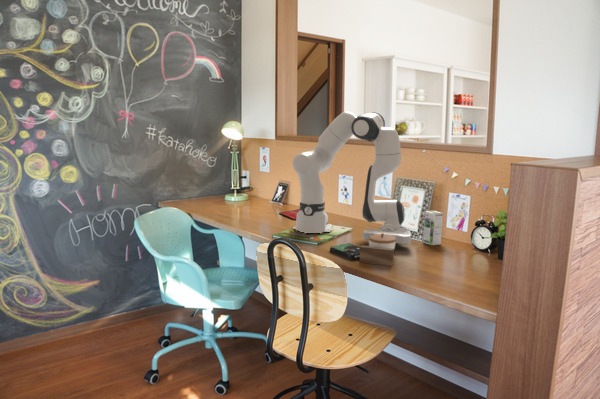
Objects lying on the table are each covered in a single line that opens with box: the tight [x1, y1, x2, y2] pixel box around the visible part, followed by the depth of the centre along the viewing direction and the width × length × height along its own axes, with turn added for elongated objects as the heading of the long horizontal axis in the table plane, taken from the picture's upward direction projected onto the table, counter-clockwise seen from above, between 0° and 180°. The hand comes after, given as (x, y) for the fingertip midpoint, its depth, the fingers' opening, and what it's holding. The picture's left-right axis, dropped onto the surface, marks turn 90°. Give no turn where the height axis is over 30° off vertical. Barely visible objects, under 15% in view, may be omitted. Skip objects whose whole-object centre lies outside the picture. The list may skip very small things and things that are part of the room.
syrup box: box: [422, 210, 444, 246], centre depth 206 cm, size 6×6×14 cm
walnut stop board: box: [359, 245, 395, 267], centre depth 177 cm, size 2×12×6 cm, turn 71°
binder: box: [278, 208, 300, 221], centre depth 263 cm, size 16×2×21 cm
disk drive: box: [329, 242, 361, 261], centre depth 189 cm, size 10×3×15 cm
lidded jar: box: [368, 233, 396, 250], centre depth 186 cm, size 11×11×9 cm
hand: (384, 240), depth 191 cm, fingers closed, pressing on lidded jar
